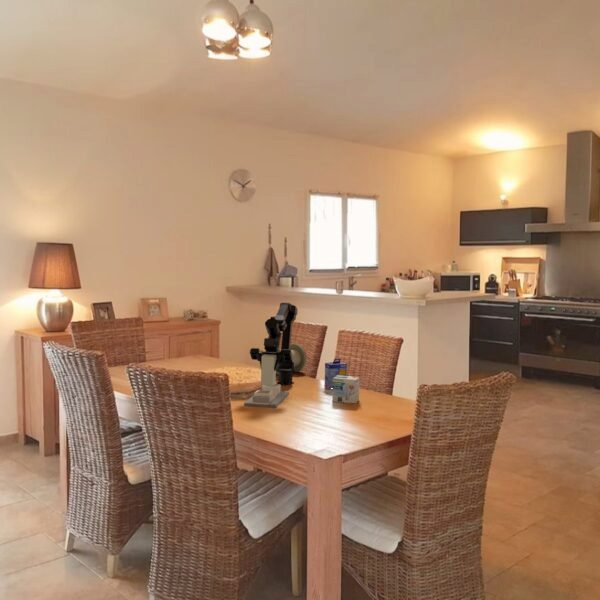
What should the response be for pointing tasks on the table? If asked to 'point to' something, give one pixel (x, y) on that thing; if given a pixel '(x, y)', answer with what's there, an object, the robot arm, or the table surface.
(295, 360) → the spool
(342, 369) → the ink cartridge box
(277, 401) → the rail board
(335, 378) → the light bulb box
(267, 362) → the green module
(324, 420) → the table surface
